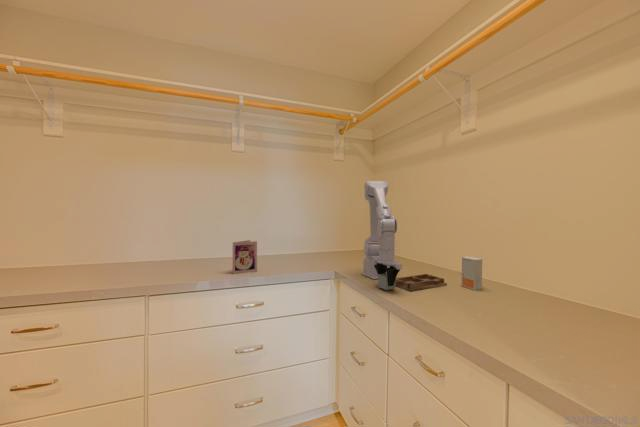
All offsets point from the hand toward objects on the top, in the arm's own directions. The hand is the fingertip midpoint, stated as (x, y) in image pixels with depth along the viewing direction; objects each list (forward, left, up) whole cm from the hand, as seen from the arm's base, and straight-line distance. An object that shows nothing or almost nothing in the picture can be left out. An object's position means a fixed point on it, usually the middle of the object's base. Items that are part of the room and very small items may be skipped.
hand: (386, 284), depth 101 cm
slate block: (0, 0, -1) cm, 1 cm away
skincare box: (+13, +32, -2) cm, 35 cm away
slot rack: (+1, +16, -2) cm, 16 cm away
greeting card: (-52, -45, -2) cm, 69 cm away
